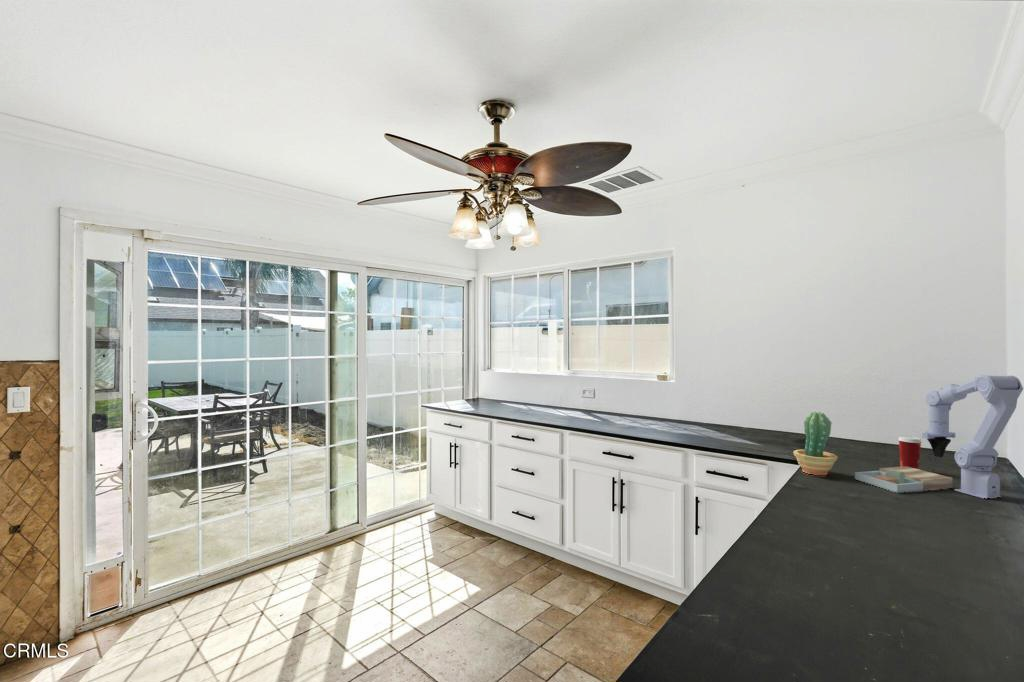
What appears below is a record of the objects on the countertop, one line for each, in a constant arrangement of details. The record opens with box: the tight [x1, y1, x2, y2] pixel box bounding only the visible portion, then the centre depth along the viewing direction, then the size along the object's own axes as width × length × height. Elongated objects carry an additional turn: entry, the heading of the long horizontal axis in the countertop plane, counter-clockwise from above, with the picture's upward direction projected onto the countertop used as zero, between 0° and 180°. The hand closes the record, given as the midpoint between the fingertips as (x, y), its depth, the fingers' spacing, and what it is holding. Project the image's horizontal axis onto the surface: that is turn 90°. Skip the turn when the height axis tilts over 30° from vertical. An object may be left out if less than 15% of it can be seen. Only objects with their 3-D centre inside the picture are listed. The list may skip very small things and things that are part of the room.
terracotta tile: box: [873, 475, 897, 484], centre depth 175 cm, size 5×5×2 cm
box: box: [854, 470, 924, 494], centre depth 176 cm, size 16×12×3 cm
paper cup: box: [897, 435, 923, 470], centre depth 196 cm, size 8×8×14 cm
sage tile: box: [886, 469, 904, 484], centre depth 176 cm, size 5×5×2 cm
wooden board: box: [878, 466, 953, 492], centre depth 179 cm, size 16×14×4 cm
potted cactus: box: [792, 411, 839, 475], centre depth 191 cm, size 15×15×25 cm
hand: (938, 456), depth 183 cm, fingers closed
